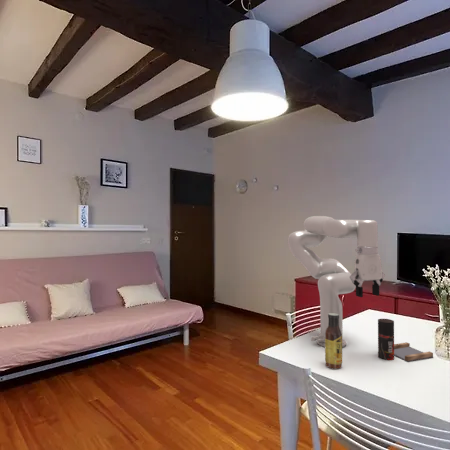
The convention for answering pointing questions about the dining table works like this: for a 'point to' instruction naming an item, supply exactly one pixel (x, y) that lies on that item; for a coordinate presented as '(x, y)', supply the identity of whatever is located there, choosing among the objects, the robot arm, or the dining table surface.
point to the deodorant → (386, 339)
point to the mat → (406, 352)
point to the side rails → (413, 356)
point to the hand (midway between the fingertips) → (367, 295)
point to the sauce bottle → (333, 342)
